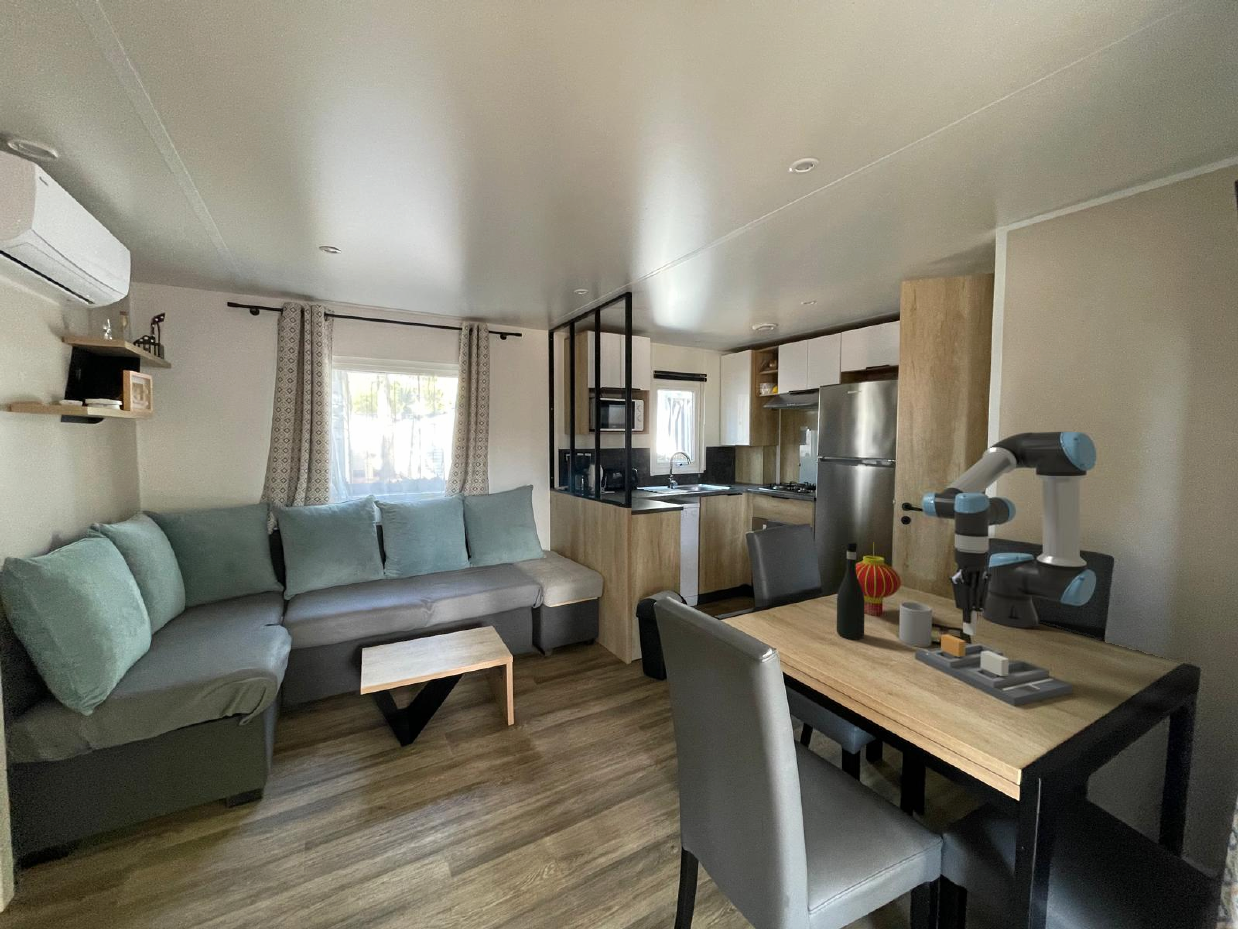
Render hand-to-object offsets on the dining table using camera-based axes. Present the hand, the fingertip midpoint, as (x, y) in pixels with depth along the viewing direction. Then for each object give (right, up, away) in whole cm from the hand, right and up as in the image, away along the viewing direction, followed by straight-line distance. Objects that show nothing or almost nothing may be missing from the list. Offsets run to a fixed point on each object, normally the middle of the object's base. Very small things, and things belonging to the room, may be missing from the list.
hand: (969, 633), depth 132 cm
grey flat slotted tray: (0, -9, -6) cm, 11 cm away
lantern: (-6, -7, +40) cm, 41 cm away
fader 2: (-3, -7, -12) cm, 14 cm away
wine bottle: (-23, -8, +20) cm, 32 cm away
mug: (-5, -8, +17) cm, 19 cm away
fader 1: (-6, -6, -2) cm, 9 cm away
